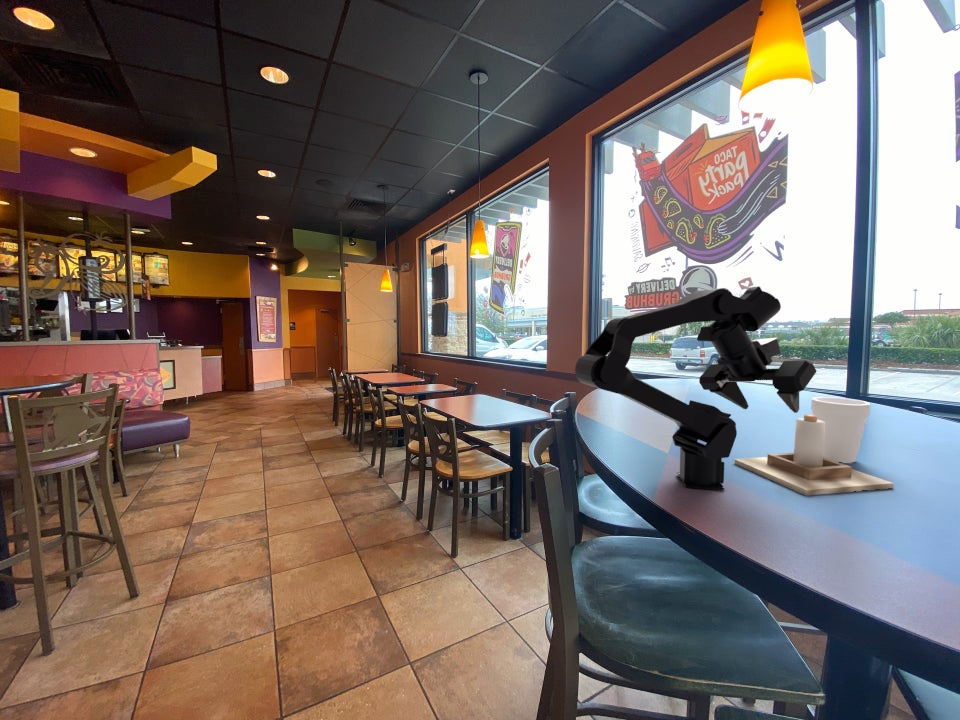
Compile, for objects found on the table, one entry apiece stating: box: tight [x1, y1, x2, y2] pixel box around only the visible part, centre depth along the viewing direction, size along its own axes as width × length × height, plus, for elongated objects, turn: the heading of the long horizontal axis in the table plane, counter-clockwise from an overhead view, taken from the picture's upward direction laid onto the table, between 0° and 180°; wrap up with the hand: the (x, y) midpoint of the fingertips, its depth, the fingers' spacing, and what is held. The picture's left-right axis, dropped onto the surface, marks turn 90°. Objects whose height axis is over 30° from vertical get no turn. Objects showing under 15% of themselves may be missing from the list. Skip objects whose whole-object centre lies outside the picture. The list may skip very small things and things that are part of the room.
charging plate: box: [734, 451, 895, 496], centre depth 76 cm, size 18×16×3 cm
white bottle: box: [793, 414, 825, 468], centre depth 76 cm, size 4×4×11 cm
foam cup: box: [810, 396, 871, 464], centre depth 85 cm, size 10×9×13 cm
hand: (770, 409), depth 75 cm, fingers open, 9 cm apart
